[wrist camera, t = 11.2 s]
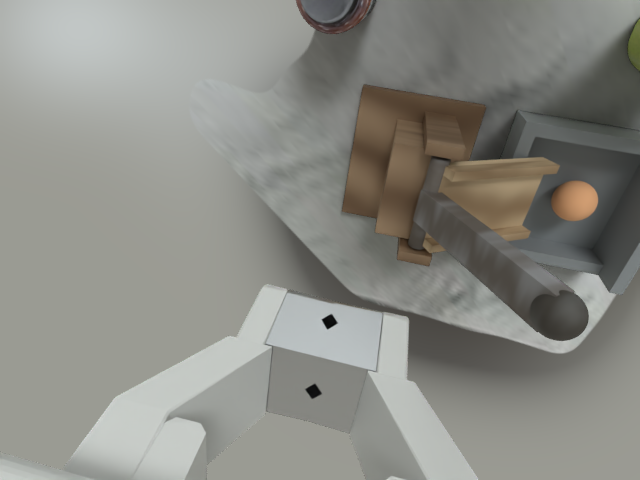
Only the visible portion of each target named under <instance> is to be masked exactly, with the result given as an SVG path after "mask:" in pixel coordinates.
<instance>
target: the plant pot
mask: <svg viewBox="0 0 640 480" xmlns="http://www.w3.org/2000/svg"><path fill="white" fill-rule="evenodd" d="M628 56H629V59H630V61H631V63H632V65H633V66H634V67H635V68H636V69H637V70H639V71H640V19H639V20H638V21H637V23H636V25H635V27H634V29H633V32H632V34H631V37H630V39H629V42H628Z"/></svg>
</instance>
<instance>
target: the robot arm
mask: <svg viewBox="0 0 640 480" xmlns="http://www.w3.org/2000/svg"><path fill="white" fill-rule="evenodd" d="M408 336H409V319H408V317H405V316H400V315H396V314H392V313H387V312H383V313H382V312H380V311H375V310H371V309H367V308H362V307H358V306H353V305H349V304H345V303H341V302H336V301H333V300H329V299H325V298H321V297H317V296H313V295H309V294H305V293H302V292H298V291H294V290H288V289H284V288H281V287H277V286H273V285H269V284H265V286H263V287H262V288H261V290H260V292H259V294H258V296H257V298H256V300H255V302H254V304H253V306H252V308H251V310H250V311H249V313H248V315H247V317H246V319H245V321H244V323H243V325H242V327H241V329H240V331H239V333H238V335H237V337H232V336H228V337H226V338H224V339H222V340H220V341H218V342H216V343H215V344H213V345H211V346H209V347H207V348H205V349H204V350H202V351H200V352H198V353H196V354H194V355H192V356H191V357H189V358H187V359H185V360H183V361H181V362H179V363H178V364H176V365H174V366H172V367H170V368H168V369H167V370H165V371H163V372H161V373H159V374H157V375H156V376H154V377H152V378H150V379H148V380H146V381H145V382H143V383H141V384H139V385H137V386H135V387H133V388H132V389H130V390H128V391H126V392H124V393H122V394H120V395H119V396H117V397H115V398H114V400H113V401H112V402H111V404H110V405H109V406H108V408H107V409H106V410H105V412H104V413H103V415H102V416H101V417H100V418H99V420H98V421H97V423H96V424H95V425H94V427H93V428H92V429H91V431H90V432H89V433H88V435H87V436H86V438H85V439H84V440H83V442H82V443H81V444H80V446H79V447H78V448H77V450H76V451H75V453H74V454H73V455H72V457H71V458H70V459H69V461H68V462H67V463H66V465H65V466H64V467H63V469H62V470H61V469H57V468H54V467H51V466H47V465H44V464H40V463H37V462H33V461H30V460H27V459H23V458H20V457H16V456H13V455H10V454H6V453H3V452H0V480H207V465H208V464H209V463H210V462H211V461H212V460H213V459H215V458H216V457H217V456H218V455H219V454H220V453H221V452H223V451H224V450H225V449H226V448H227V447H228V446H229V445H231V444H232V443H233V442H234V441H235V440H236V439H237V438H239V437H240V436H241V435H242V434H243V433H244V432H245V431H247V430H248V429H249V428H250V427H251V426H252V425H254V424H255V423H256V422H257V421H258V420H259V419H260V418H262V417H263V416H264V415H265V414H266V411H267V412H271V413H275V414H279V415H283V416H288V417H292V418H296V419H300V420H304V421H309V422H312V423H315V424H319V425H322V426H325V427H329V428H333V429H336V430H339V431H342V432H346V433H349V434H350V439H351V441H352V444H353V447H354V449H355V452H356V455H357V457H358V460H359V463H360V465H361V468H362V471H363V473H364V476H365V479H366V480H478V478H477V476H476V475H475V474H474V472H473V470H472V469H471V467H470V466H469V464H468V463H467V461H466V460H465V458H464V457H463V455H462V454H461V452H460V451H459V449H458V447H457V446H456V444H455V443H454V441H453V440H452V439H451V437H450V435H449V434H448V432H447V431H446V429H445V428H444V427H443V425H442V423H441V422H440V420H439V419H438V417H437V416H436V414H435V412H434V411H433V409H432V408H431V406H430V405H429V403H428V402H427V400H426V399H425V397H424V396H423V394H422V393H421V391H420V390H419V388H418V387H417V385H416V384H415V382H412V381H408V380H407V362H408Z"/></svg>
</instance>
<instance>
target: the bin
mask: <svg viewBox="0 0 640 480" xmlns="http://www.w3.org/2000/svg"><path fill="white" fill-rule="evenodd" d="M535 157H544V158H546V159H548V160H550V161H552V162H554V163H556V164H558V165H560V167H559V169H558V171H557V174H546V175H543V177H542V179H541V182H540V184H539V186H538V189H537V191H536V193H535V196H534V198H533V200H532V203H531V205H530V207H529V210H528V212H527V215H526V217H525V219H524V222H523V224H522V226H524V227H525V228H527V229H528V230H530V231H531V232H530V234H529V237H528V238H526V239H519V240H513V241H508V242H509V243H510V244H512V245H513V246H514V247H516V248H517V249H518V250H520V251H521V252H522V253H524V254H525V255H527V256H528V257H529V258H531V259H532V260H533V261H535V262H536V263H541V264H546V265H551V266H556V267H561V268H566V269H571V270H576V271H581V272H586V273H591V274H596V275H599V277H600V278H601V280H602V282H603V283H604V285H605V286H606V288H607V290H608V291H609V292H610V293H615V294H620V295H622V294H623V293H624V291H625V290H626V288H627V286H628V285H629V283H630V282H631V280H632V278H633V277H634V275H635V274H636V272H637V271H638V269H639V267H640V131H639V130H633V129H627V128H621V127H615V126H609V125H603V124H597V123H591V122H585V121H579V120H573V119H567V118H561V117H555V116H549V115H543V114H537V113H531V112H525V111H519V110H518V111H517V113H516V116H515V119H514V122H513V125H512V127H511V130H510V133H509V136H508V138H507V141H506V144H505V147H504V149H503V152H502V155H501V158H500V159H516V158H535ZM576 180H577V181H583V182H586V183H588V184H589V185H591V186H592V187H593V188H594V189H595V191H596V193H597V195H598V204H597V207H596V209H595V211H594V212H593V213H592V214H591V215H590V216H589V217H587V218H585V219H583V220H579V221H568V220H564V219H562V218H560V217H559V216H558V215H557V214H556V213H555V212H554V211H553V209H552V206H551V198H552V195H553V193H554V191H555V190H556V189H557V188H558V187H559V186H560V185H562V184H563V183H565V182H568V181H576Z"/></svg>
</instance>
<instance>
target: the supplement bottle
mask: <svg viewBox="0 0 640 480" xmlns="http://www.w3.org/2000/svg"><path fill="white" fill-rule="evenodd" d="M375 2H376V0H296V3H297V6H298V8H299V11H300V13H301V15H302V16H303V18H304V19H305V20H306V22H307V23H308V24H309V25H310V26H311V27H313V28H315V29H316V30H318V31H321V32H324V33H327V34H338V33H342V32H345V31H347V30H349V29H351V28H353V27H354V26H355V25H357V24H358V23H359V22H360V21H361V20H363V19H364V18H365V17H366V16H367V15H368V14H369V13H370V11H371V10H372V8H373V7H374V4H375Z"/></svg>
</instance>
